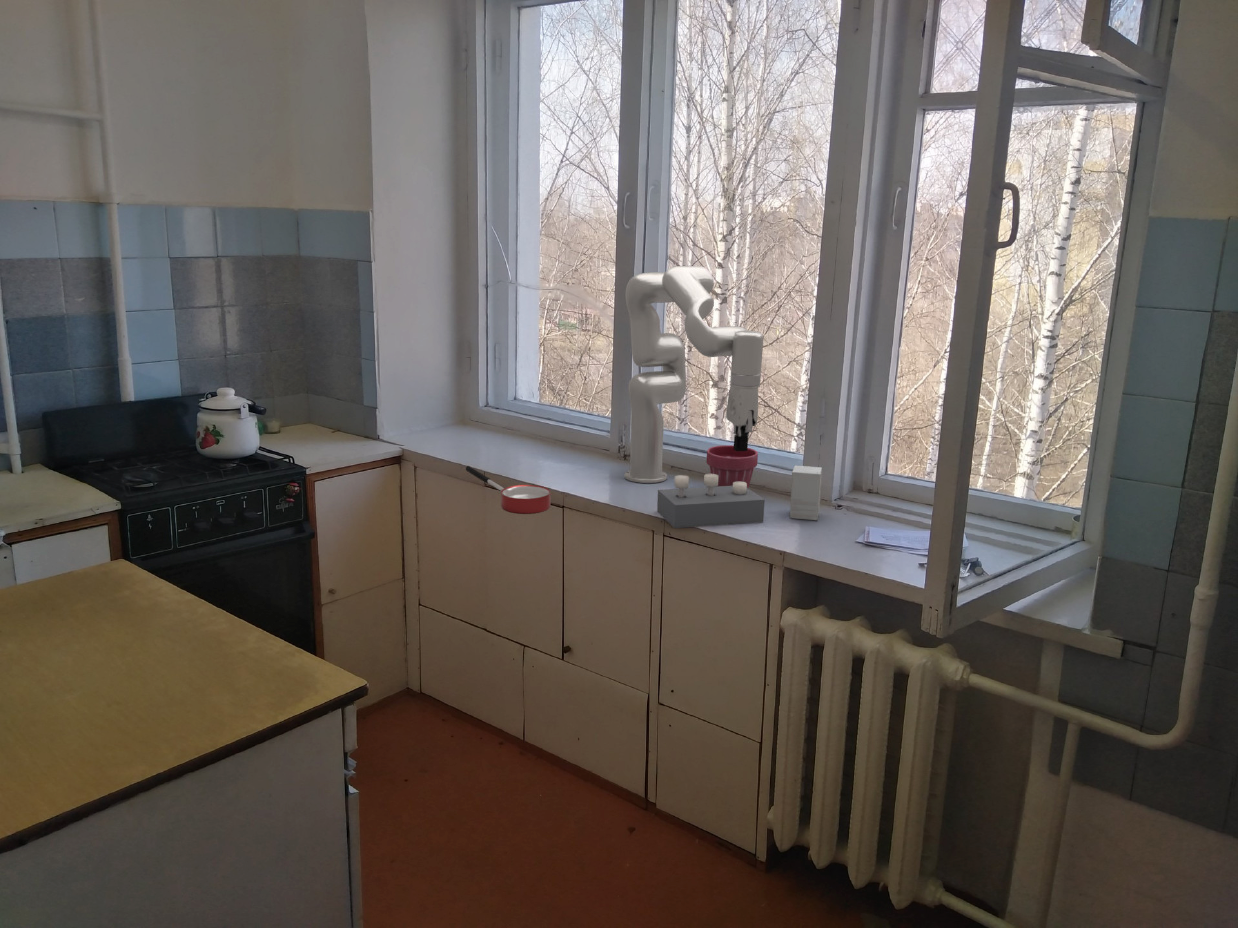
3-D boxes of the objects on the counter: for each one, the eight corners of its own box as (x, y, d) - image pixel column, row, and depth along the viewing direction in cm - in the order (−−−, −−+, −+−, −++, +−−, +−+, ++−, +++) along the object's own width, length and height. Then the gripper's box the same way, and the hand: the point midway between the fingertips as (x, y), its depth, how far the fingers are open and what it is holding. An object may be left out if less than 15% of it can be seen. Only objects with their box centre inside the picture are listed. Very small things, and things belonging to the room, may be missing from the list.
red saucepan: (443, 494, 263) (442, 471, 262) (478, 484, 273) (478, 463, 271) (526, 518, 244) (525, 494, 242) (560, 507, 253) (560, 484, 252)
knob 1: (672, 502, 246) (672, 475, 244) (685, 501, 247) (686, 474, 245) (676, 506, 242) (677, 479, 240) (689, 505, 243) (691, 478, 241)
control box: (657, 511, 251) (657, 489, 249) (742, 506, 257) (743, 485, 256) (674, 528, 238) (675, 505, 236) (763, 522, 244) (764, 499, 243)
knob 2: (701, 500, 248) (702, 474, 246) (714, 499, 249) (715, 473, 247) (706, 504, 244) (707, 477, 243) (719, 503, 245) (720, 477, 244)
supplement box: (819, 513, 253) (823, 467, 250) (817, 521, 246) (821, 473, 243) (791, 510, 255) (794, 464, 252) (788, 518, 248) (791, 471, 245)
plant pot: (746, 505, 259) (749, 459, 255) (697, 498, 264) (699, 453, 261) (761, 492, 271) (764, 448, 268) (714, 485, 277) (716, 442, 274)
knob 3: (729, 507, 250) (730, 481, 249) (742, 507, 251) (743, 481, 250) (734, 511, 247) (736, 485, 245) (747, 511, 248) (749, 484, 246)
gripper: (720, 375, 247) (716, 443, 252) (743, 386, 233) (737, 458, 238) (747, 374, 249) (742, 442, 254) (771, 385, 235) (765, 457, 240)
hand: (740, 450), depth 246 cm, fingers closed
